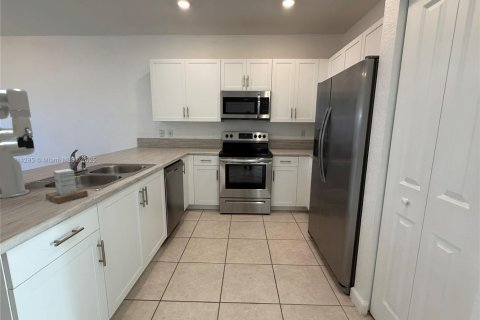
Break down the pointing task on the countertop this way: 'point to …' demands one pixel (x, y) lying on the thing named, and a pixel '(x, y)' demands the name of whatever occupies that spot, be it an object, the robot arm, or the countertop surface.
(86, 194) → the block
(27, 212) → the countertop surface
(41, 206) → the countertop surface
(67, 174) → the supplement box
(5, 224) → the countertop surface
